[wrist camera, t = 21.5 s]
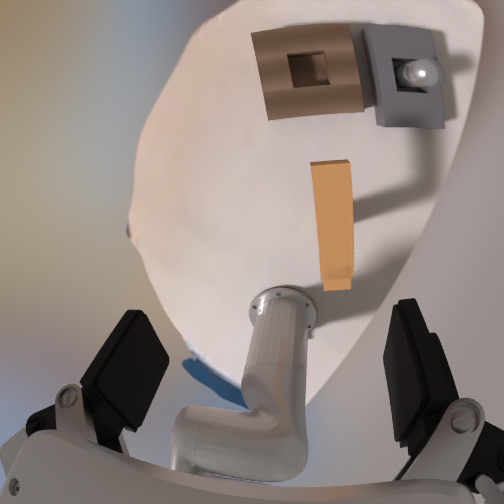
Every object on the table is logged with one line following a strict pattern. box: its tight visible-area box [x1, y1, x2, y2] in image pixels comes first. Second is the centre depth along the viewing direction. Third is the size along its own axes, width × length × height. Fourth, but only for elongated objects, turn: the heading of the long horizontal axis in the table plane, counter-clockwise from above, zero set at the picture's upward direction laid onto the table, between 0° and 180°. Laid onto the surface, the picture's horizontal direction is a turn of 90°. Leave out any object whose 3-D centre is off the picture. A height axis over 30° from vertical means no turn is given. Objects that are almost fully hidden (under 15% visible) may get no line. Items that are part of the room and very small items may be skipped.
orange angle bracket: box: [310, 159, 354, 291], centre depth 32 cm, size 14×4×15 cm, turn 11°
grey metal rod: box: [393, 57, 444, 88], centre depth 23 cm, size 3×3×10 cm
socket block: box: [251, 24, 365, 121], centre depth 29 cm, size 12×12×4 cm
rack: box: [361, 24, 445, 129], centre depth 27 cm, size 14×9×4 cm, turn 11°
